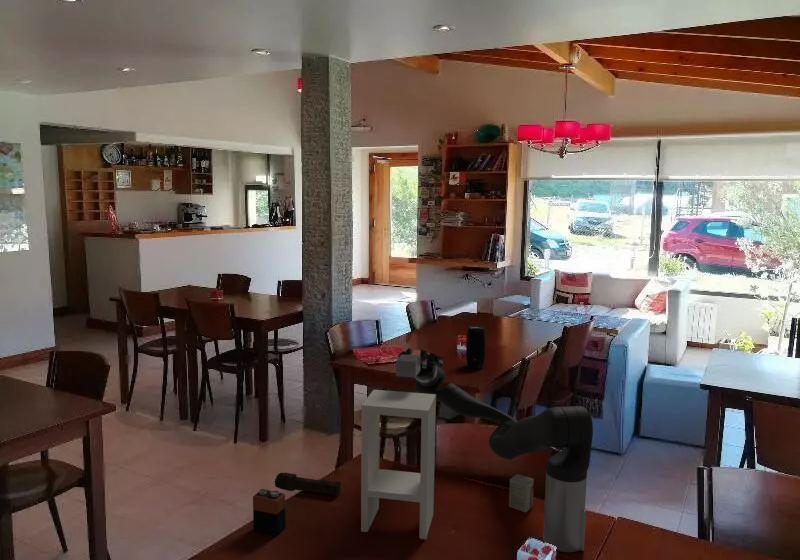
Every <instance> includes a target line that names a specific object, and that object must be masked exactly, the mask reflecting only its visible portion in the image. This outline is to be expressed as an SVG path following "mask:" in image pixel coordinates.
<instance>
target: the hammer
mask: <svg viewBox="0 0 800 560" xmlns="http://www.w3.org/2000/svg"><path fill="white" fill-rule="evenodd" d="M420 351H421V349H420V350H419V349H413V350H412V353H411V355H403V354H402V355H401V356H400V357H399V358H398V357H397V359H396V361H395V362H396V363H395V366H396V367H395V368H396V369H395V371H396V372H395V376H396V377H405V378H415V377H416V376H417V374H418V373H419V372H420V364H421V363H422V362H423V360H422V359H421V357H420ZM424 351H426V350H424Z"/></svg>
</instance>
